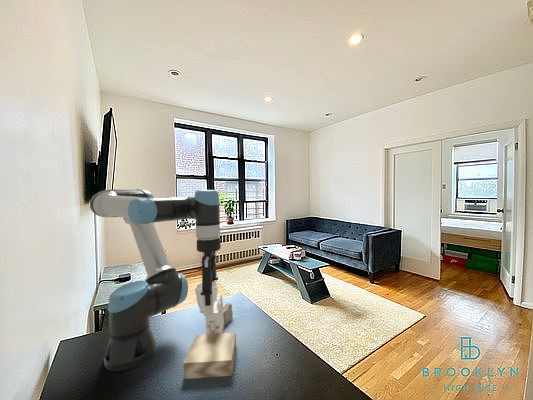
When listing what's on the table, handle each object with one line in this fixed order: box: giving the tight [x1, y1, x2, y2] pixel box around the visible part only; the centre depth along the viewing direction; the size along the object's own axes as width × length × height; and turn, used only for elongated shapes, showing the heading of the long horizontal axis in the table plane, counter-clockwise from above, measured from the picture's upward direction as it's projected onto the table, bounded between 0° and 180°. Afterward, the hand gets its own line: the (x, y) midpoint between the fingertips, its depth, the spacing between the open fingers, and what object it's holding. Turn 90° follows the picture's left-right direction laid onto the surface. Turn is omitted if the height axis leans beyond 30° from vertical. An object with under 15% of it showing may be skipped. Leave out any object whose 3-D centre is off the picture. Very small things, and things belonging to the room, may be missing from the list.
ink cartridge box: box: [205, 294, 225, 334], centre depth 87 cm, size 9×5×15 cm, turn 0°
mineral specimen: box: [223, 302, 233, 328], centre depth 97 cm, size 13×7×6 cm, turn 160°
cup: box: [194, 282, 218, 315], centre depth 74 cm, size 7×10×8 cm
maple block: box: [183, 332, 237, 380], centre depth 75 cm, size 14×14×5 cm
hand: (210, 307), depth 75 cm, fingers closed on cup, 9 cm apart
